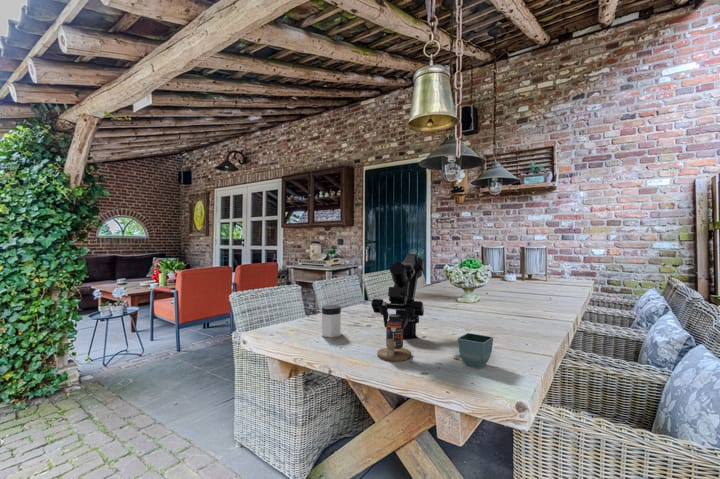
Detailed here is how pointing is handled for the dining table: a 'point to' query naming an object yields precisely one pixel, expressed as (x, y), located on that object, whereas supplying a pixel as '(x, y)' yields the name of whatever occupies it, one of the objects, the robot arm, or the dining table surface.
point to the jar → (331, 321)
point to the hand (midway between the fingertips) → (393, 327)
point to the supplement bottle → (395, 330)
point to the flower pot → (475, 349)
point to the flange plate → (397, 354)
